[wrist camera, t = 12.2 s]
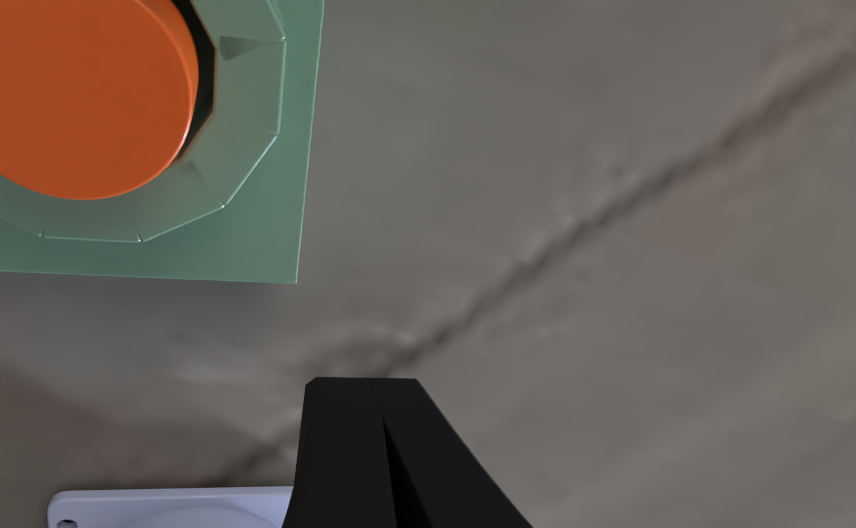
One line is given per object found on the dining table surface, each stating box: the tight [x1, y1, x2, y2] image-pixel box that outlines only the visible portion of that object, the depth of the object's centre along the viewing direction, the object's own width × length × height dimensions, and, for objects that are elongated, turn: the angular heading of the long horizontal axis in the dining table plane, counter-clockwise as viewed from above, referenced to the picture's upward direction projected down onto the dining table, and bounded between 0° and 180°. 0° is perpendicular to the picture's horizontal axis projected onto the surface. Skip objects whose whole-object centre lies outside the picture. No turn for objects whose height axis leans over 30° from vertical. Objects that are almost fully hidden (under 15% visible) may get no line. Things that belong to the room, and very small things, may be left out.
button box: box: [0, 0, 325, 284], centre depth 15 cm, size 10×8×4 cm
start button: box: [0, 0, 199, 200], centre depth 13 cm, size 4×4×2 cm
